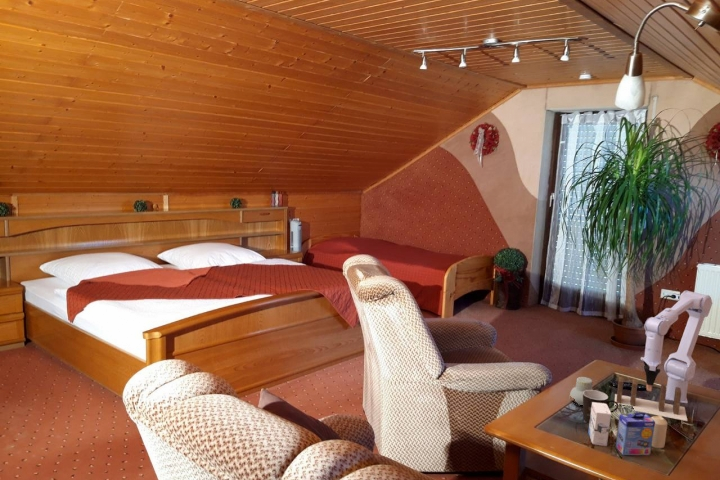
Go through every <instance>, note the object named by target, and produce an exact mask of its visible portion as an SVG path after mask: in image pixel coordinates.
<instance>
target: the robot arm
mask: <svg viewBox="0 0 720 480" xmlns="http://www.w3.org/2000/svg"><path fill="white" fill-rule="evenodd" d="M712 305H713V301H712V298H711V295H709V294H708V295H707V294H702V293H697V292H694V291H690V290H684V291H683V292H681V294H680V296H679V300H678V301H677V302H676V303H675V304H674V305H672V307H666V308H665V309H663V310H662V311H661V312H659V313H658V314H657V315H656V316H654V317H653V316H651V317H648V318H647V319H646V321H645V323H644V324H643V325H644V326H643V327H644V330H645V334H644V335H645V336H646V340H645V349H644V356H641V357H640V360H641V361H642V362H643V364H644V365H643V369H644V373H645V378H646V379H645V380H646V385H652V387H653V386H654V384H655V381H656V379H657V377H658V375H659V374H660V372H661V369H660V368H658V367H659V366H660V365H661V364H662V352H663V345H664V338H665V335H666V334H667V333H668V331H669V329H670V328H671V325H673V324H674V323H675V322H677V321H678V320H679V315H681V314H682V313H684V312H687V314H688V315H689V317H688V319H687V322H686V326H685V328H684V331H683V334H682V337H681V339H680V343H679V345H678V347H677V348H678V349H677V351H676V352H672V353H670V354H669V355H668V358H667V359H666V360H665V361H664V366H663V368H664V372H665V373H666V375H667V382H666V397H665V401H666V400H667V401H673V402H674V395H675V388H676V387H679V388H680V389H681V399H680V403H682V404H683V403H684V404H688V398H687V393H688V385H689V381H691V380H692V379H693V378H694V376H695V373H696V367H697V363H696V362H695V360H694V359H693V357H692V354H693V351H694V349H695V346H696V343H697V340H698V338H699V334H700V331H701V329H702V326H703V323H704V320H705V318H707V317H708V316H709V314H710V312H711V309H712ZM649 366H650V367H649Z"/></svg>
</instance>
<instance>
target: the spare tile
mask: <svg viewBox="0 0 720 480" xmlns="http://www.w3.org/2000/svg"><path fill="white" fill-rule="evenodd" d="M649 367H650V366H649ZM645 386H646V391H647V392H652V389H653V386H652V385H647V384H646V385H645Z"/></svg>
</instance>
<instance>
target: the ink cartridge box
mask: <svg viewBox="0 0 720 480" xmlns="http://www.w3.org/2000/svg"><path fill="white" fill-rule="evenodd" d="M654 426H655V421H654V420H653V419H652V418H651V416H649V415H648V413H644V412H634V413H633V414H632V413H622V414H619V417H618V425H617V434H616V441H615V442H616V443H615V448H616V449H617V450H618V451H619V452H620V454H621V455H623V456H650V455H651V451H652V439H653V432H654Z"/></svg>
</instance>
